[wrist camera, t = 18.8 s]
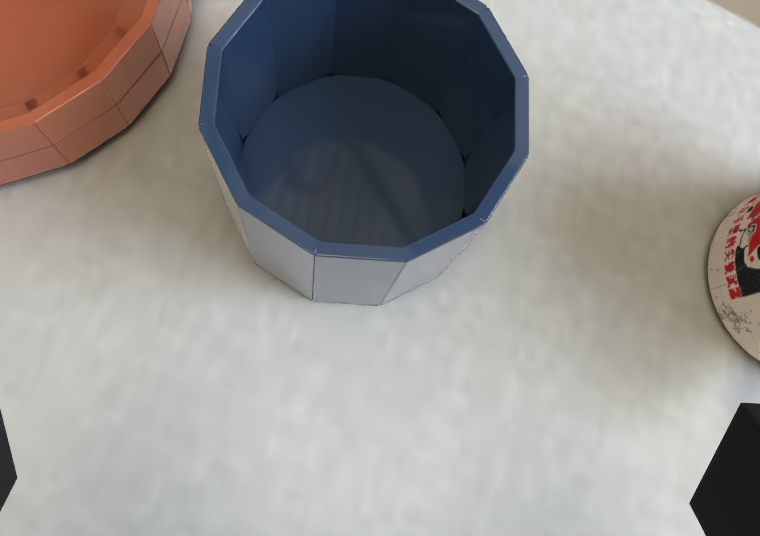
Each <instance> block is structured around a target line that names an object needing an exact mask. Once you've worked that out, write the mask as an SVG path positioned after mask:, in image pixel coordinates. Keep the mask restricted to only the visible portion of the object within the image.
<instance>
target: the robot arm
mask: <svg viewBox="0 0 760 536" xmlns="http://www.w3.org/2000/svg"><path fill="white" fill-rule="evenodd" d="M16 479H17V475H16V471H15V466H14V462H13V458H12V454H11V450H10V446H9V442H8V438H7V434H6V430H5V426H4V422H3V418H2V414H1V410H0V511H1V509H2V507H3V505H4V503H5V501H6V499H7V497H8V495H9V493H10V491H11V489H12V487H13V485H14V483H15V481H16ZM689 504H690V506H691V507H692V509H693V511H694V513H695V515H696V517H697V519H698V521H699V523H700V525H701V527H702V529H703V531H704V533H705V535H706V536H760V404H755V403H741V404H740V405H739V407H738V409H737V411H736V413H735V415H734V417H733V419H732V421H731V423H730V425H729V427H728V429H727V431H726V433H725V435H724V437H723V439H722V441H721V442H720V444H719V446H718V448H717V450H716V452H715V454H714V456H713V458H712V460H711V462H710V464H709V466H708V468H707V470H706V472H705V474H704V476H703V478H702V479H701V481H700V483H699V485H698V487H697V489H696V491H695V493H694V495H693V497H692V499H691V501H690V503H689Z"/></svg>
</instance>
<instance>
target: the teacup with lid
mask: <svg viewBox="0 0 760 536" xmlns="http://www.w3.org/2000/svg"><path fill="white" fill-rule="evenodd" d="M708 281H709V287H710V292H711V296H712V299H713V302H714V305H715V308H716V310H717V312H718V314H719V316H720V318H721V320H722V322H723V324H724V325H725V327H726V328H727V330H728V331H729V333H730V334H731V335H732V336H733V338H734V339H735V340H736V341H737V342H738V343H739V344H740V345H741V346H742V347H743V349H745V350H746V351H747V352H748V353H749V354H750V355H752V356H753V357H755V358H756V359H757V360H759V361H760V192H759V193H757V194H755V195H753V196H751V197H749V198H747V199H746V200H744V201H742V202H741V203H740V204H738V205H737V206H736V207H735V208H733V209H732V210H731V211H730V212H729V213H728V215H727V216H726V217H725V218H724V220H723V221H722V222H721V224H720V226H719V227H718V229H717V231H716V234H715V236H714V238H713V241H712V244H711V248H710V252H709V259H708Z"/></svg>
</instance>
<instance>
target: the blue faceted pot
mask: <svg viewBox="0 0 760 536" xmlns="http://www.w3.org/2000/svg"><path fill="white" fill-rule="evenodd" d="M527 76H528V74H527V72H526V71H525V69H524V67H523V66H522V64H521V62H520V60H519V59H518V57H517V55H516V54H515V52H514V50H513V48H512V47H511V45H510V43H509V42H508V40H507V38H506V36H505V35H504V33H503V31H502V30H501V28H500V26H499V24H498V23H497V21H496V19H495V18H494V16H493V14H492V12H491V11H490V9H489V8H487V6H486V5H485V4H483V3H482V2H480V1H478V0H244V1H243V2H242V3H241V5H240V6H239V7H238V8H237V10H236V11H235V12H234V13H233V14H232V16H231V17H230V18H229V19H228V21H227V22H226V23H225V24H224V25H223V27H222V28H221V29H220V30H219V32H218V33H217V34H216V35H215V36H214V38H213V39H212V40H211V41H210V43H209V46H208V47H207V54H206V63H205V72H204V81H203V89H202V98H201V107H200V115H199V124H198V125H199V130H200V133H201V136H202V138H203V141H204V144H205V147H206V150H207V152H208V155H209V158H210V161H211V164H212V166H213V169H214V172H215V175H216V178H217V180H218V183H219V186H220V189H221V192H222V194H223V197H224V200H225V203H226V206H227V208H228V210H229V212H230V214H231V216H232V218H233V220H234V222H235V224H236V226H237V228H238V230H239V233H240V235H241V237H242V239H243V241H244V243H245V245H246V247H247V249H248V251H249V253H250V255H251V257H252V259H253V261H254V263H256V265H257V266H259V267H260V268H262V269H263V270H265V271H266V272H268V273H269V274H271V275H272V276H274V277H275V278H277V279H278V280H280V281H282V282H283V283H285V284H286V285H288V286H289V287H291V288H292V289H294V290H295V291H297V292H298V293H300V294H301V295H303V296H304V297H306V298H307V299H309V300H313V301H315V302H330V303H345V304H361V305H376V306H378V305H379V304H380V305H382V304H384V303H386V302H388V301H390V300H392V299H394V298H396V297H398V296H400V295H402V294H404V293H406V292H408V291H410V290H413V289H415V288H417V287H419V286H421V285H423V284H425V283H427V282H429V281H431V280H433V279H435V278H437V277H438V276H439V275H440V274H441V273H442V272H443V271H444V270H445V268H446V267H447V266H448V265H449V264H450V263H451V262H452V261H453V260H454V258H455V257H456V256H457V255H458V254H459V253H460V252H461V251H462V250H463V248H464V247H465V246H466V245H467V244H468V243H469V242H470V241H471V239H472V238H473V237H474V236H475V235H476V234H477V233H478V232H479V231H480V229H481V228H482V227H483V226H484V225H485V224H486V223H487V221H488V220H489V218H490V216H491V215H492V213H493V212H494V210H495V209H496V207H497V205H498V204H499V202H500V201H501V199H502V197H503V196H504V194H505V193H506V191H507V190H508V188H509V186H510V185H511V183H512V182H513V180H514V178H515V177H516V175H517V174H518V172H519V171H520V169H521V167H522V166H523V164H524V163H525V161H526V159H527V158H528V154H529V78H528V77H527Z"/></svg>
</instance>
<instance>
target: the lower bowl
mask: <svg viewBox="0 0 760 536" xmlns="http://www.w3.org/2000/svg"><path fill="white" fill-rule="evenodd" d="M191 18H192V0H0V185H3V184H6V183H9V182H13V181H16V180H19V179H22V178H26V177H29V176H32V175H36V174H39V173H42V172H45V171H49V170H52V169H55V168H59V167H62V166H65V165H68V164H69V163H73V162H74V161H76V160H77V159H79V158H80V157H82V156H84V155H85V154H87V153H88V152H90V151H91V150H93V149H94V148H96V147H97V146H99V145H100V144H102V143H103V142H105V141H107V140H108V139H110V138H111V137H113V136H114V135H116V134H117V133H119V132H120V131H122V130H123V129H125V128H126V127H128V126H129V125H130V124H131V123H132V122H133V120H134V119H135V118H136V117H137V115H138V114H139V113H140V112H141V111H142V109H143V108H144V107H145V106H146V105H147V103H148V102H149V101H150V100H151V99H152V97H153V96H154V95H155V94H156V92H157V91H158V90H159V89H160V88H161V86H162V85H163V84H164V83H165V82H166V80H167V79H168V78H169V77H170V74H171V73H172V70H173V68H174V65H175V62H176V60H177V57H178V54H179V51H180V49H181V46H182V43H183V41H184V38H185V35H186V33H187V30H188V27H189V25H190V22H191Z"/></svg>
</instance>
